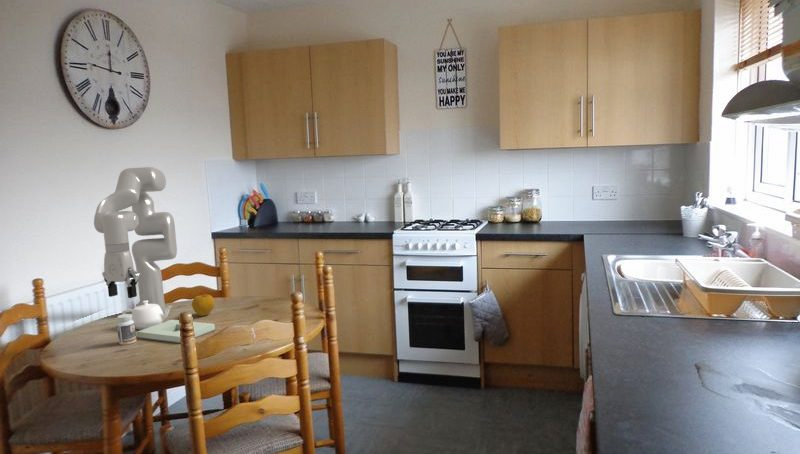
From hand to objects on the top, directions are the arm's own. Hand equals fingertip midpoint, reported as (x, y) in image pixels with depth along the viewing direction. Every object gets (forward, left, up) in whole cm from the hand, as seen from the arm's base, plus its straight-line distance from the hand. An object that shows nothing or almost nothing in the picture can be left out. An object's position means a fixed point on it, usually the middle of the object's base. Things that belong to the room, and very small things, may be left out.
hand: (122, 296), depth 202 cm
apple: (+1, +36, -17) cm, 40 cm away
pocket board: (+10, +13, -17) cm, 23 cm away
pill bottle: (0, 0, -17) cm, 17 cm away
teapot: (-10, +18, -17) cm, 27 cm away
